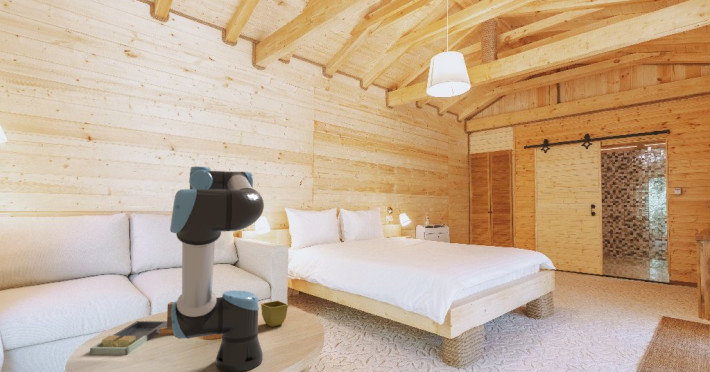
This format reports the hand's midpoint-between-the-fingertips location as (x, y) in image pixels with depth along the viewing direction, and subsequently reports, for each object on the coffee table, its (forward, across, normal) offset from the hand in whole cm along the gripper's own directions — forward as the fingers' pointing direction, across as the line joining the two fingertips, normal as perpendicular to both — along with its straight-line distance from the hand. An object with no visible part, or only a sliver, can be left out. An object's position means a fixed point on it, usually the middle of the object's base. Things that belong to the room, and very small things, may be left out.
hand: (198, 261), depth 144 cm
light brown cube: (+30, +9, -21) cm, 38 cm away
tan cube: (+30, +9, -27) cm, 41 cm away
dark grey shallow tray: (+31, -5, -24) cm, 39 cm away
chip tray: (+31, +9, -24) cm, 40 cm away
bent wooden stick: (+31, -5, -12) cm, 33 cm away
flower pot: (+31, -19, +26) cm, 45 cm away
